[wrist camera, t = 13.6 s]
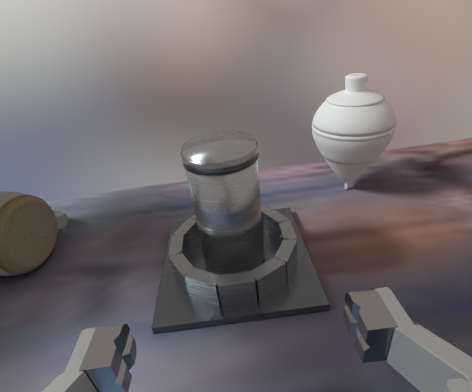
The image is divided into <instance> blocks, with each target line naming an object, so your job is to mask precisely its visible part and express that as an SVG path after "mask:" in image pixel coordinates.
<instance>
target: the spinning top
mask: <svg viewBox="0 0 472 392" xmlns="http://www.w3.org/2000/svg"><path fill="white" fill-rule="evenodd" d="M367 78H368V75H367V74H364V73H354V74H349V75H347V76H346V77H345V89H346V90H343V91H339V92H337V93H334V94H332V95H330V96H329V97H328V98H326V101H325V102H323V104H322V105H321V106H320V107H319V109H318V110H317V112H316V113H315V115H314V118H313V123H312V133H313V138H314V140H315V143H316V145H317V147H318V149H319V151H320V152H321V154H322V156H323V157H324V159H325V160H326V162H327V163H328V164H329V166H330V167H331V168H332V170H333V171H334V172H335V173H336V174H337V176H338V177H339V178H340V179H341V180H342V181H343V182H345V189H346V190H347V189H348V185H349V182H351V181H353V180H354V179H355V178H357V177H358V176H359V175H360V174H362V173H363V172H364V171H365V170H366V169H367V168H368V167H369V166H370V165H371V164H372V163H373V162H374V161H375V160H376V159H377V158H378V157H379V156H380V155H381V153H382V152H383V151H384V149H385V148H386V147H387V145H388V144H389V142H390V141H391V139H392V137H393V134H394V131H395V128H396V118H395V115H394V112H393V109H392V107H391V106H390V105H389V103H388V102H387V101H386V100H385V97H384V96H383V95H381V94H379V93H377V92H374V91H371V90H367V89H365V87H366V83H367Z"/></svg>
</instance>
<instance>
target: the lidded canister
mask: <svg viewBox="0 0 472 392" xmlns="http://www.w3.org/2000/svg"><path fill="white" fill-rule="evenodd" d="M181 150H182V151H181V157H182V161H183V166H184V168H185V169H186V174H187V179H188V183H189V188H190V193H191V198H192V203H193V208H194V212H195V217H196V222H197V227H198V232H199V237H200V241H201V246H202V251H203V256H204V261H205V265H206V267H207V268H208V270H209V271H210V272H212V273H215V274H218V275H224V274H231V273H239V272H246V271H251V270H253V269H255V268H257V267H258V266H260V265H261V264H262V262H263V260H264V244H263V230H262V216H261V202H260V188H259V174H258V161H257V159H258V156H259V153H258V142H257V141H256V138H255V137H254V136H253V135H252V134H250V133H247V132H243V131H234V130H225V131H215V132H209V133H205V134H202V135H199V136H196V137H193V138H191V139H190V140H188V141H186V142H185V143H184V144H183V146H182V148H181Z"/></svg>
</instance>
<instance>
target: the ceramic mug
mask: <svg viewBox="0 0 472 392" xmlns="http://www.w3.org/2000/svg"><path fill="white" fill-rule="evenodd" d="M66 227H67V215H66V213H65V212H63V211H53V210H52V209H51V207H50V206H49V205H48V204H47V203H46V202H45V201H44V200H42V199H40V198H38V197H35V196H32V195H28V194H23V193H17V192H0V276H11V275H19V274H24V273H27V272H30V271H32V270H34V269H36V268H38V267H39V266H40V265H41V264H42V263H43V262H44V261H45V260H46V259H47V258H48V257H49V255H50V254H51V252H52V250H53V248H54V246H55V243H56V239H57V233H58V231H60V230H62V229H64V228H66Z"/></svg>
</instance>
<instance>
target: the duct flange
mask: <svg viewBox="0 0 472 392" xmlns="http://www.w3.org/2000/svg"><path fill="white" fill-rule="evenodd" d="M261 216H262V230H263V244H264V260H263V262H262V264H261V265H260V266H258V267H257V268H255V269H253V270H251V271H246V272H239V273H231V274H224V275H218V274H215V273H212V272H210V271H209V270H208V268H207V267H206V265H205V261H204V256H203V251H202V246H201V241H200V237H199V232H198V227H197V222H196V217H195V215H193V216H191V217H190V218H188V219H187V220H186V221H184V222H177V223H171V228H170V234H169V239H168V244H167V250H166V255H165V260H164V266H163V271H162V276H161V281H160V287H159V292H158V297H157V303H156V308H155V313H154V318H153V324H152V330H153V333H154V334H156V333H164V332H171V331H178V330H186V329H193V328H201V327H208V326H216V325H223V324H230V323H238V322H245V321H253V320H260V319H268V318H275V317H282V316H290V315H297V314H305V313H312V312H320V311H327V310H329V306H330V304H329V302H328V299H327V297H326V294H325V292H324V290H323V287H322V285H321V282H320V280H319V277H318V275H317V273H316V270H315V268H314V265H313V263H312V261H311V258H310V256H309V253H308V251H307V248H306V246H305V244H304V241H303V239H302V236H301V234H300V232H299V229H298V227H297V224H296V222H295V219H294V217H293V215H292V212H291V210H290V208H282V209H275V210H274V209H273V208H271V207H268V206H263V205H261Z"/></svg>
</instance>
